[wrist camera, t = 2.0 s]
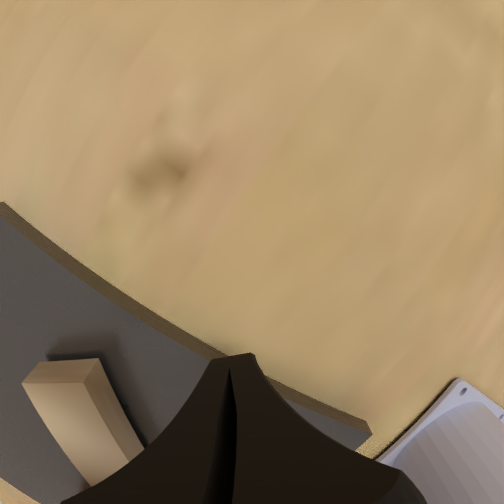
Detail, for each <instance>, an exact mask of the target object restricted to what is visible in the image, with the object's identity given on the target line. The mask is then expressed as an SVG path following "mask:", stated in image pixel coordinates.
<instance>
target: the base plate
mask: <svg viewBox="0 0 504 504" xmlns="http://www.w3.org/2000/svg"><path fill="white" fill-rule="evenodd" d="M222 357H228V356H227V355H225V354H223V353H222V352H220V351H218V350H216V349H214V348H213V347H211V346H209V345H207V344H206V343H204V342H202V341H200V340H199V339H197V338H195V337H193V336H192V335H190V334H188V333H187V332H185V331H183V330H182V329H180V328H178V327H177V326H175V325H173V324H172V323H170V322H168V321H167V320H165V319H163V318H162V317H160V316H159V315H157V314H155V313H154V312H152V311H151V310H149V309H148V308H146V307H144V306H143V305H141V304H140V303H138V302H137V301H135V300H134V299H132V298H131V297H129V296H127V295H126V294H124V293H123V292H121V291H120V290H119V289H117V288H116V287H114V286H113V285H111V284H110V283H108V282H107V281H105V280H104V279H102V278H101V277H100V276H98V275H97V274H95V273H94V272H92V271H91V270H90V269H88V268H87V267H85V266H84V265H83V264H81V263H80V262H79V261H77V260H76V259H74V258H73V257H72V256H70V255H69V254H68V253H66V252H65V251H64V250H62V249H61V248H60V247H58V246H57V245H56V244H54V243H53V242H52V241H51V240H49V239H48V238H47V237H45V236H44V235H43V234H42V233H40V232H39V231H38V230H37V229H35V228H34V227H33V226H32V225H30V224H29V223H28V222H27V221H25V220H24V219H23V218H22V217H21V216H19V215H18V214H17V213H16V212H15V211H13V210H12V209H11V208H10V207H9V206H8V205H6V204H5V203H4V202H0V477H1V478H2V479H4V480H5V481H7V482H8V483H9V484H11V485H12V486H14V487H15V488H17V489H18V490H20V491H21V492H23V493H24V494H26V495H28V496H29V497H31V498H32V499H34V500H36V501H37V502H39V503H41V504H60V503H61V501H63V500H66V499H68V498H70V497H72V496H74V495H76V494H78V493H80V492H82V491H84V490H86V489H88V488H90V487H91V486H90V484H89V483H88V482H87V481H86V480H85V478H84V477H83V476H82V475H81V473H80V472H79V471H78V470H77V468H76V467H75V466H74V464H73V463H72V462H71V460H70V459H69V458H68V456H67V455H66V454H65V452H64V451H63V450H62V448H61V447H60V445H59V444H58V442H57V441H56V440H55V438H54V437H53V435H52V434H51V432H50V431H49V429H48V428H47V426H46V424H45V423H44V421H43V420H42V418H41V417H40V415H39V413H38V412H37V410H36V408H35V407H34V405H33V403H32V402H31V400H30V398H29V396H28V395H27V393H26V391H25V389H24V387H23V385H22V384H21V383H22V382H23V381H24V379H25V378H26V377H27V376H28V375H29V373H30V372H31V371H32V370H33V369H34V368H35V366H36V365H37V364H38V363H39V362H48V361H65V360H80V359H92V358H99V360H100V362H101V365H102V367H103V369H104V372H105V374H106V376H107V378H108V380H109V382H110V385H111V387H112V389H113V391H114V393H115V395H116V397H117V399H118V401H119V403H120V405H121V407H122V409H123V411H124V413H125V415H126V417H127V419H128V421H129V422H130V424H131V426H132V428H133V430H134V432H135V433H136V435H137V437H138V439H139V441H140V442H141V444H142V446H143V447H144V449H145V448H146V447H147V446H149V445H150V444H151V443H152V442H153V441H154V440H155V439H156V438H157V437H158V436H159V435H160V434H161V433H162V431H163V430H164V429H165V428H166V427H167V426H168V424H169V423H170V422H171V421H172V420H173V418H174V417H175V416H176V414H177V413H178V412H179V410H180V409H181V408H182V406H183V405H184V403H185V402H186V401H187V399H188V398H189V396H190V394H191V393H192V391H193V390H194V388H195V387H196V385H197V383H198V382H199V380H200V378H201V377H202V375H203V373H204V371H205V369H206V368H207V366H208V364H209V362H210V361H211V360H212V359H216V358H222ZM265 377H266V378H267V379H268V381H269V382H270V383H271V385H272V386H273V387H274V388H275V390H276V391H277V392H278V393H279V394H280V396H281V397H282V398H283V399H284V400H285V401H286V402H287V403H288V404H289V405H290V406H291V407H292V408H293V409H294V410H295V411H296V412H297V413H298V414H300V415H301V416H302V417H303V418H304V419H306V420H307V421H308V422H309V423H310V424H312V425H313V426H314V427H316V428H317V429H318V430H320V431H321V432H323V433H324V434H326V435H327V436H329V437H331V438H332V439H334V440H336V441H337V442H339V443H341V444H342V445H344V446H346V447H347V448H349V449H351V450H353V451H355V450H356V449H357V448H358V447H359V446H361V445H362V444H363V443H364V442H365V441H366V440H367V439H368V438H369V437H370V436H371V435H373V434H372V432H371V430H370V428H369V426H368V425H367V423H366V421H364V420H361V419H359V418H356V417H354V416H352V415H349V414H347V413H344V412H342V411H340V410H337V409H335V408H333V407H331V406H328V405H326V404H324V403H322V402H319V401H317V400H315V399H313V398H311V397H308V396H306V395H304V394H302V393H300V392H298V391H296V390H293V389H291V388H289V387H287V386H285V385H283V384H281V383H279V382H277V381H275V380H273V379H271V378H269V377H267V376H265Z"/></svg>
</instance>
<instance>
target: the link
mask: <svg viewBox="0 0 504 504" xmlns="http://www.w3.org/2000/svg"><path fill="white" fill-rule="evenodd" d="M21 384H22V385H23V387H24V389H25V391H26V393H27V395H28V396H29V398H30V400H31V402H32V403H33V405H34V407H35V408H36V410H37V412H38V413H39V415H40V417H41V418H42V420H43V421H44V423H45V424H46V426H47V428H48V429H49V431H50V432H51V434H52V435H53V437H54V438H55V440H56V441H57V442H58V444H59V445H60V447H61V448H62V450H63V451H64V452H65V454H66V455H67V456H68V458H69V459H70V460H71V462H72V463H73V464H74V466H75V467H76V468H77V470H78V471H79V472H80V473H81V475H82V476H83V477H84V478H85V480H86V481H87V482H88V483H89V484H90V486H91V487H92V486H94V485H96V484H97V483H99V482H101V481H102V480H104V479H106V478H107V477H109V476H110V475H112V474H113V473H115V472H116V471H118V470H119V469H121V468H122V467H123V466H125V465H126V464H127V463H129V462H130V461H131V460H132V459H133V458H135V457H136V456H137V455H138V454H139V453H140V452H142V451H143V450H144V447H143V446H142V444H141V442H140V441H139V439H138V437H137V435H136V433H135V432H134V430H133V428H132V426H131V424H130V422H129V421H128V419H127V417H126V415H125V413H124V411H123V409H122V407H121V405H120V403H119V401H118V399H117V397H116V395H115V393H114V391H113V389H112V387H111V385H110V382H109V380H108V378H107V376H106V374H105V372H104V369H103V367H102V365H101V362H100V360H99V358H92V359H80V360H65V361H48V362H39V363H38V364H37V365H36V366H35V368H34V369H33V370H32V371H31V372H30V373H29V375H28V376H27V377H26V378H25V379H24V381H23V382H22V383H21Z"/></svg>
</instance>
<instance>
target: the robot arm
mask: <svg viewBox="0 0 504 504" xmlns="http://www.w3.org/2000/svg"><path fill="white" fill-rule="evenodd" d="M60 504H504V409H503V408H502V407H500V406H499V405H498V404H496V403H495V402H494V401H492V400H491V399H490V398H488V397H487V396H486V395H484V394H483V393H482V392H480V391H479V390H477V389H476V388H475V387H473V386H472V385H471V384H469V383H468V382H467V381H465V380H464V379H462V378H458V379H456V380H454V381H453V382H452V384H451V385H450V386H449V387H448V388H447V389H446V391H445V392H444V393H443V394H442V395H441V396H440V397H439V399H438V400H437V401H436V402H435V403H434V404H433V405H432V406H431V407H430V408H429V410H428V411H427V412H426V413H425V414H424V415H423V416H422V417H421V418H420V419H419V420H418V421H417V422H416V423H415V424H414V425H413V426H412V427H411V428H410V429H409V430H408V431H407V432H406V433H405V434H404V435H403V436H402V437H401V438H400V439H399V440H398V441H396V442H395V443H394V444H393V445H392V446H391V447H390V448H389V449H388V450H387V451H385V452H384V453H383V454H382V455H381V456H380V457H379V458H377V459H376V460H373V459H370V458H368V457H366V456H363V455H361V454H359V453H357V452H355V451H353V450H351V449H349V448H347V447H346V446H344V445H342V444H341V443H339V442H337V441H336V440H334V439H332V438H331V437H329V436H327V435H326V434H324V433H323V432H321V431H320V430H318V429H317V428H316V427H314V426H313V425H312V424H310V423H309V422H308V421H307V420H306V419H304V418H303V417H302V416H301V415H300V414H298V413H297V412H296V411H295V410H294V409H293V408H292V407H291V406H290V405H289V404H288V403H287V402H286V401H285V400H284V399H283V398H282V397H281V396H280V394H279V393H278V392H277V391H276V390H275V388H274V387H273V386H272V385H271V383H270V382H269V381H268V379H267V378H266V377H265V375H264V374H263V372H262V370H261V369H260V367H259V365H258V363H257V361H256V358H255V355H254V354H252V353H246V354H240V355H234V356H228V357H222V358H216V359H212V360H211V361H210V362H209V364H208V366H207V368H206V369H205V371H204V373H203V375H202V377H201V378H200V380H199V382H198V383H197V385H196V387H195V388H194V390H193V391H192V393H191V394H190V396H189V398H188V399H187V401H186V402H185V403H184V405H183V406H182V408H181V409H180V410H179V412H178V413H177V414H176V416H175V417H174V418H173V420H172V421H171V422H170V423H169V424H168V426H167V427H166V428H165V429H164V430H163V431H162V433H161V434H160V435H159V436H158V437H157V438H156V439H155V440H154V441H153V442H152V443H151V444H150V445H149V446H147V447H146V448H145V449H144V450H143V451H142V452H140V453H139V454H138V455H137V456H136V457H135V458H133V459H132V460H131V461H130V462H129V463H127V464H126V465H125V466H123V467H122V468H121V469H119V470H118V471H116V472H115V473H113V474H112V475H110V476H109V477H107V478H106V479H104V480H102V481H101V482H99V483H97V484H96V485H94V486H92V487H90V488H88V489H86V490H84V491H82V492H80V493H78V494H76V495H74V496H72V497H70V498H68V499H66V500H63V501H61V503H60Z"/></svg>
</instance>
